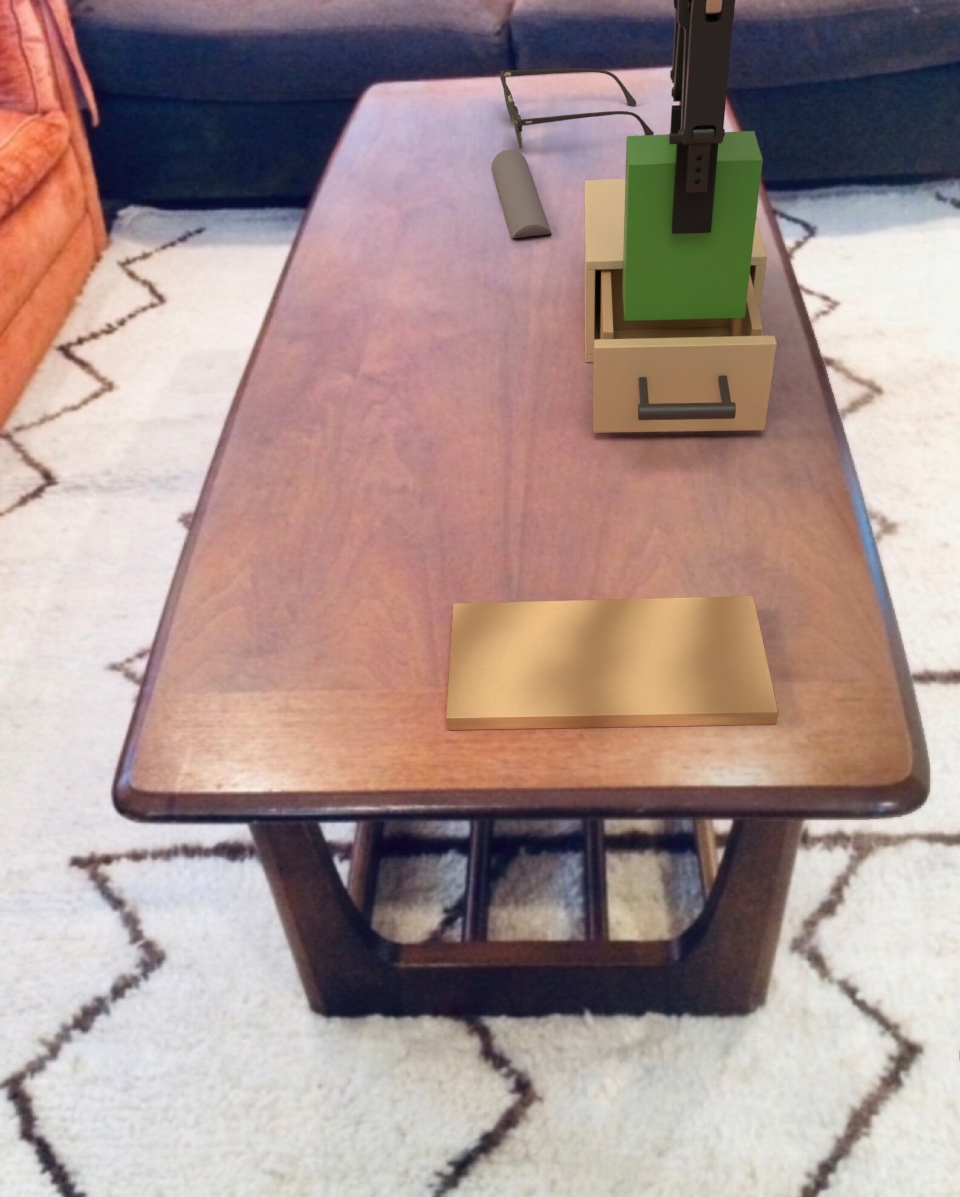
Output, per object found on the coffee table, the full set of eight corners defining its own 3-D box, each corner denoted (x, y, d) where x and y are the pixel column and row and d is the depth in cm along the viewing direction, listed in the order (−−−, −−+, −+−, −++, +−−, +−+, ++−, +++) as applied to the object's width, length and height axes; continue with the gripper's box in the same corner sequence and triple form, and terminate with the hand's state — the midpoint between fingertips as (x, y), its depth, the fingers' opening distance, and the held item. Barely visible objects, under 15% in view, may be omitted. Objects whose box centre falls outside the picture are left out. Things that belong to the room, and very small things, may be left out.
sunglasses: (659, 147, 128) (661, 103, 125) (516, 162, 128) (514, 118, 124) (631, 96, 140) (632, 54, 136) (499, 110, 139) (497, 69, 136)
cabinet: (754, 359, 95) (767, 256, 88) (585, 362, 96) (585, 261, 90) (735, 271, 106) (746, 174, 99) (584, 275, 107) (584, 179, 101)
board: (751, 608, 74) (753, 595, 73) (775, 724, 66) (778, 711, 66) (454, 615, 75) (453, 603, 74) (447, 730, 68) (445, 718, 67)
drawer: (772, 468, 83) (785, 379, 77) (594, 470, 84) (595, 383, 78) (744, 333, 96) (754, 250, 91) (591, 336, 98) (592, 255, 92)
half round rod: (512, 243, 113) (511, 227, 112) (490, 166, 127) (489, 151, 126) (553, 239, 113) (552, 222, 112) (526, 162, 127) (526, 147, 126)
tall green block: (744, 318, 82) (762, 159, 74) (624, 321, 83) (628, 164, 75) (737, 285, 86) (754, 130, 78) (622, 288, 87) (626, 135, 79)
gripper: (642, -196, 70) (631, 164, 86) (657, -136, 57) (641, 274, 74) (762, -204, 70) (728, 160, 86) (803, -146, 57) (755, 271, 73)
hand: (688, 212), depth 80 cm, fingers closed on tall green block, 5 cm apart
